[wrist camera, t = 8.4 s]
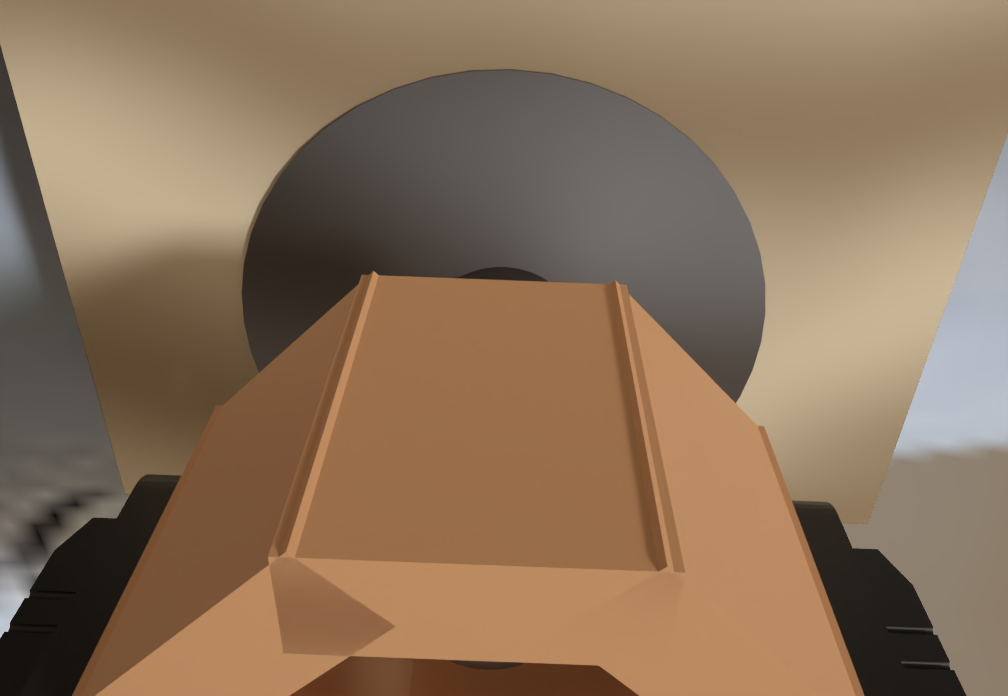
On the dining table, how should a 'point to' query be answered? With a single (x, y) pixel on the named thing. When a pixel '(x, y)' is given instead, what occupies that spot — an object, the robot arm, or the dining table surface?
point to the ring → (477, 517)
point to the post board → (518, 187)
